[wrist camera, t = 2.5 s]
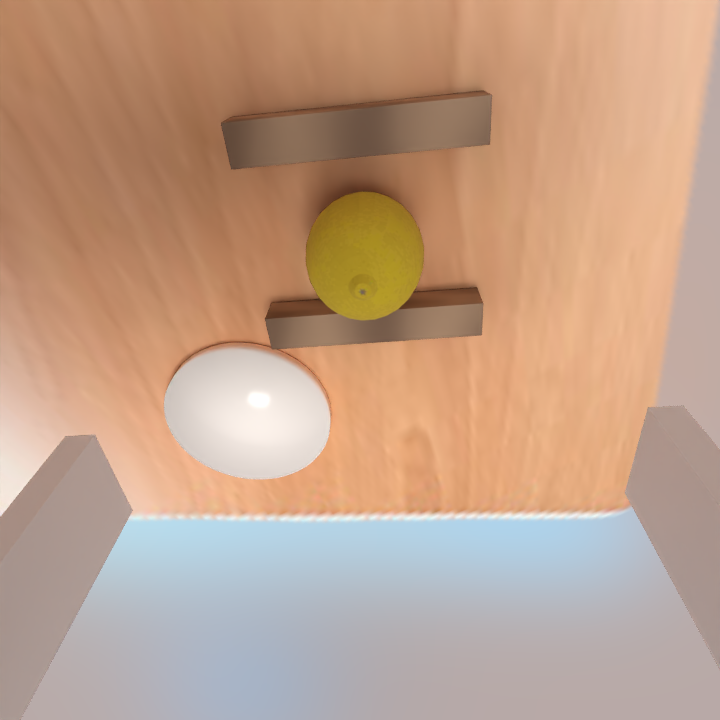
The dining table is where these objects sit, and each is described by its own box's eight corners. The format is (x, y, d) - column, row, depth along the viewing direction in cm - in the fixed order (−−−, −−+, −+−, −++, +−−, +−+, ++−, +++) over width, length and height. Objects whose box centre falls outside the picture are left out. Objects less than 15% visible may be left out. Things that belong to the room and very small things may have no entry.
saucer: (194, 472, 37) (190, 482, 36) (146, 348, 31) (140, 356, 31) (340, 465, 36) (339, 475, 36) (319, 336, 31) (317, 344, 30)
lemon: (293, 223, 27) (266, 285, 20) (371, 150, 25) (370, 193, 18) (361, 293, 29) (357, 371, 22) (438, 232, 27) (459, 298, 20)
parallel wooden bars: (277, 332, 30) (271, 349, 29) (231, 117, 24) (220, 123, 22) (475, 318, 30) (481, 335, 28) (483, 90, 23) (492, 94, 21)
